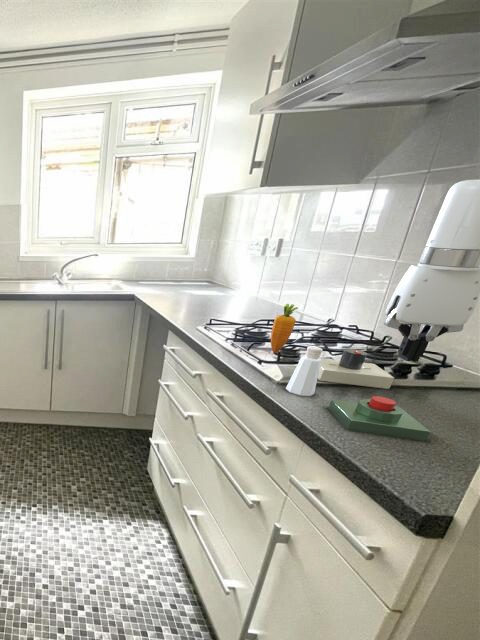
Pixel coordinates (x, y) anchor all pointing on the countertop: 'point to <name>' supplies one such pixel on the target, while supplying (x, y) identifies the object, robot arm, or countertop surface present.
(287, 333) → the carrot
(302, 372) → the pepper shaker
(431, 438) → the countertop surface
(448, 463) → the countertop surface
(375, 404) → the button
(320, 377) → the hob panel
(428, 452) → the countertop surface
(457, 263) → the robot arm
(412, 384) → the countertop surface
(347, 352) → the hob knob
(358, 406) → the green button base
